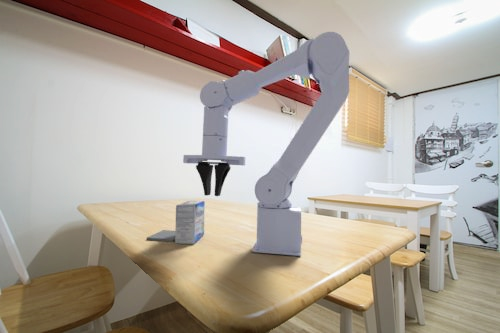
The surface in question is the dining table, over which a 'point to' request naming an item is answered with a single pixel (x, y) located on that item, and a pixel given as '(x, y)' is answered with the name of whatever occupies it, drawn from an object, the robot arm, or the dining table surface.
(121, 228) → the dining table surface
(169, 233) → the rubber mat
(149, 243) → the dining table surface
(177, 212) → the medicine box
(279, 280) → the dining table surface
